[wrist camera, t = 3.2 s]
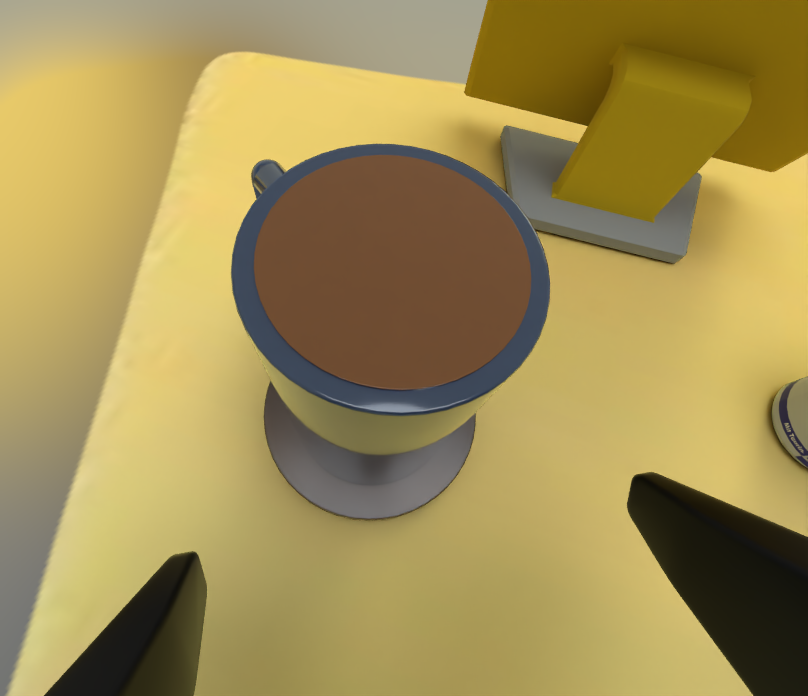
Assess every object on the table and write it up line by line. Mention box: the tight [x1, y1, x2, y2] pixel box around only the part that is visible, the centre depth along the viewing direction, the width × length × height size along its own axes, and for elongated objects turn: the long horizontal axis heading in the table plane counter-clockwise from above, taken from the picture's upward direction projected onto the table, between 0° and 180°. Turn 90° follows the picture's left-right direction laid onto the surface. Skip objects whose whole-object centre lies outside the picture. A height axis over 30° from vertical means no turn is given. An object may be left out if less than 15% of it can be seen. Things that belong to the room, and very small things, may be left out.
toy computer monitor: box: [464, 0, 808, 263], centre depth 22 cm, size 20×8×16 cm, turn 78°
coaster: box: [264, 382, 476, 521], centre depth 21 cm, size 10×10×1 cm
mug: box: [231, 144, 550, 486], centre depth 16 cm, size 10×7×12 cm
